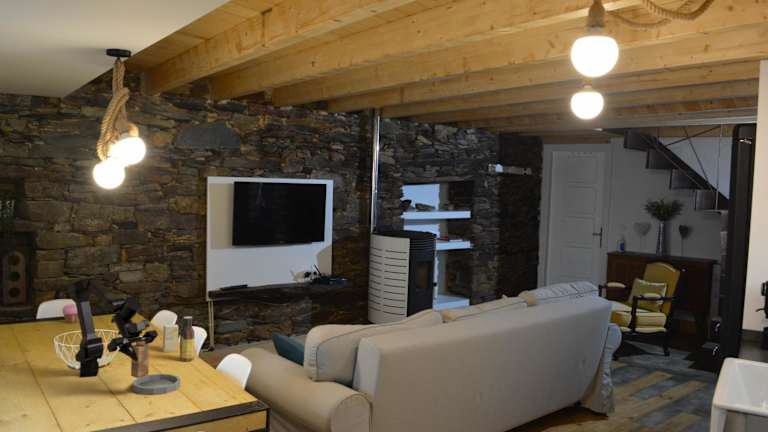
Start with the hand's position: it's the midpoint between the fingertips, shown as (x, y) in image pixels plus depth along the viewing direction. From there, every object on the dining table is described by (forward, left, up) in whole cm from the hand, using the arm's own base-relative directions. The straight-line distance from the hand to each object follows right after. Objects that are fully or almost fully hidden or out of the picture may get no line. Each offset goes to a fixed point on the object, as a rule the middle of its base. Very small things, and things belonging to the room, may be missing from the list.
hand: (142, 359), depth 225 cm
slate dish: (+6, +6, -13) cm, 16 cm away
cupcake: (-26, +126, -14) cm, 130 cm away
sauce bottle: (+22, +38, -14) cm, 46 cm away
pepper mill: (-1, +1, -7) cm, 7 cm away
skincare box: (+17, +55, -14) cm, 59 cm away
